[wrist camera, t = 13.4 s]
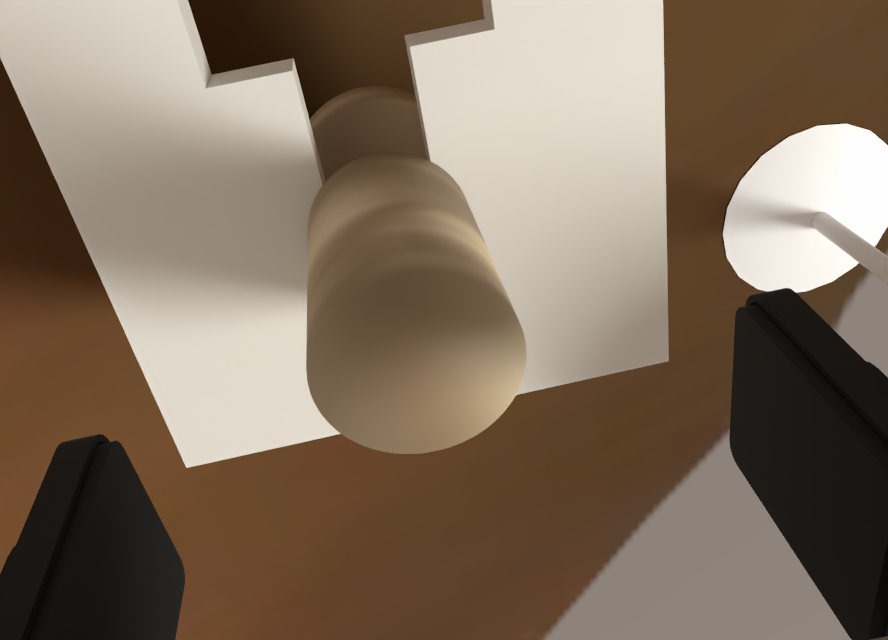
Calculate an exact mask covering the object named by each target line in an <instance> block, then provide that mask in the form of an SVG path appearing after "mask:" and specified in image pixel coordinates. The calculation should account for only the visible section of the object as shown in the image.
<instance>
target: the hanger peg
mask: <svg viewBox="0 0 888 640" xmlns="http://www.w3.org/2000/svg"><path fill="white" fill-rule="evenodd" d="M310 124H311V127H312V131H313V135H314V139H315V143H316V147H317V150H318V154H319V158H320V162H321V166H322V170H323V173H324V177H325V181H326V182H325V183H324V185H323V186H322V187H321V189H320V190H319V192H318V194H317V196H316V197H315V199H314V202H313V204H312V207H311V210H310V215H309V221H308V258H307V344H306V372H307V382H308V386H309V391H310V394H311V396H312V399H313V401H314V403H315V405H316V407H317V408H318V410H319V412H320V413H321V415H322V416H323V417H324V418H325V419H326V421H327V422H328V423H329V424H330V425H331V426H332V427H333V428H335V429H336V430H337V431H338V432H339V433H341V434H342V435H344V436H345V437H347V438H348V439H350V440H352V441H354V442H356V443H358V444H360V445H363V446H366V447H368V448H371V449H375V450H379V451H383V452H389V453H396V454H418V453H427V452H433V451H438V450H442V449H445V448H449V447H452V446H454V445H457V444H460V443H462V442H464V441H466V440H468V439H470V438H472V437H474V436H476V435H477V434H479V433H480V432H482V431H483V430H485V429H486V428H487V427H489V426H490V425H491V424H492V423H493V422H495V421H496V420H497V419H498V418H499V417H500V416H501V415H502V414H503V413H504V411H505V410H506V409H507V407H508V406H509V405H510V404H511V402H512V401H513V399H514V397H515V395H516V394H517V392H518V390H519V388H520V385H521V383H522V380H523V377H524V373H525V369H526V359H527V351H526V341H525V337H524V332H523V330H522V327H521V325H520V322H519V320H518V317H517V315H516V313H515V311H514V308H513V306H512V304H511V301H510V299H509V297H508V294H507V292H506V290H505V288H504V285H503V283H502V281H501V278H500V276H499V274H498V271H497V269H496V267H495V264H494V262H493V260H492V258H491V255H490V253H489V251H488V248H487V246H486V244H485V241H484V239H483V237H482V235H481V232H480V230H479V228H478V225H477V223H476V221H475V218H474V216H473V214H472V211H471V209H470V207H469V205H468V202H467V200H466V198H465V195H464V194H463V192H462V190H461V188H460V186H459V185H458V184H457V183H456V181H455V180H454V179H453V178H452V177H451V176H450V175H449V174H448V173H447V172H446V171H445V170H444V169H442V168H441V167H440V166H438V165H437V164H435V163H433V162H431V161H429V160H427V156H426V150H425V145H424V139H423V134H422V129H421V123H420V118H419V112H418V107H417V102H416V96H415V94H413V93H411V92H408V91H406V90H403V89H399V88H395V87H389V86H366V87H359V88H356V89H352V90H349V91H346V92H344V93H342V94H339V95H337V96H336V97H334V98H332V99H331V100H329V101H328V102H326V103H325V104H324V105H323V106H321V107H320V108H319V109H318V110H317V111H316V112H315V113H314V115H313V116H312V117H311V118H310Z"/></svg>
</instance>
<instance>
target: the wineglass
mask: <svg viewBox="0 0 888 640" xmlns="http://www.w3.org/2000/svg"><path fill="white" fill-rule="evenodd" d="M887 226H888V145H887V144H885V143H884V142H883V141H882V140H881V139H880V138H878V137H877V136H876V135H875V134H874V133H873V132H871V131H870V130H866V129H863V128H859V127H856V126H852V125H849V124H834V125H820V126H815V127H813V128H810V129H808V130H805V131H802V132H800V133H797V134H795V135H792V136H789V137H787V138H786V139H785V140H783V141H782V142H780V143H779V144H778V145H776V146H775V147H773V148H772V149H771V150H769V151H768V152H766V153H765V154H764V155H762V156H761V157H760V158H759V160H758V161H757V162H756V163H755V164H754V165H753V167H752V168H751V169H750V170H749V171H748V172H747V174H746V175H745V176H744V177H743V178H742V179H741V181H740V183H739V185H738V187H737V189H736V191H735V193H734V195H733V197H732V199H731V201H730V203H729V205H728V207H727V212H726V218H725V224H724V229H723V239H724V245H725V251H726V256H727V259H728V261H729V262H730V264H731V265H732V267H733V269H734V270H735V272H736V273H737V275H738V276H739V277H740V278H741V279H743V280H744V281H746V282H747V283H749V284H750V285H752V286H753V287H755V288H756V289H759V290H764V291H768V292H769V291H774V290H779V289H783V288H790V289H792V290H793V291H794V292H795V293H796V292H806V291H808V290H811V289H814V288H816V287H819V286H822V285H825V284H827V283H830V282H832V281H834V280H835V279H837V278H838V277H840V276H841V275H843V274H844V273H846V272H847V271H849V270H850V269H852V268H853V267H855V266H856V265H857V264H858V263H860V264H862V265H863V266H864V267H866V268H867V269H868V270H869V271H871V272H872V273H873V274H875V275H876V276H877V277H879V278H880V279H881V280H883V281H884V282H885V283H886V284H888V256H886V255H885V254H884V253H882V252H881V251H879V250H878V249H877V248H875V246H876V244H877V243H878V241H879V240H880V238H881V236H882V235H883V233H884V231H885V230H886V228H887Z"/></svg>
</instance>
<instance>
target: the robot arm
mask: <svg viewBox="0 0 888 640" xmlns="http://www.w3.org/2000/svg"><path fill="white" fill-rule="evenodd" d="M730 448H731V452H732V455H733V458H734V460H735V462H736V464H737V466H738V467H739V469H740V470H741V472H742V473H743V475H744V476H745V478H746V479H747V481H748V482H749V484H750V485H751V487H752V488H753V490H754V491H755V493H756V494H757V496H758V497H759V499H760V501H761V502H762V503H763V505H764V506H765V508H766V510H767V511H768V513H769V514H770V516H771V517H772V519H773V521H774V522H775V524H776V525H777V527H778V528H779V530H780V531H781V533H782V534H783V536H784V537H785V539H786V540H787V542H788V543H789V545H790V547H791V548H792V549H793V551H794V553H795V554H796V556H797V557H798V559H799V560H800V562H801V563H802V565H803V566H804V568H805V569H806V571H807V572H808V574H809V576H810V577H811V579H812V580H813V581H814V583H815V585H816V586H817V588H818V589H819V591H820V592H821V594H822V595H823V597H824V598H825V600H826V602H827V603H828V605H829V606H830V608H831V609H832V611H833V612H834V614H835V615H836V617H837V618H838V620H839V621H840V623H841V624H842V626H843V627H844V629H845V631H846V632H847V634H848V635H849V637H850V638H851V639H852V640H888V378H887V377H886V376H885V375H884V374H883V373H882V372H881V371H880V370H879V369H878V368H877V367H875V366H874V365H873V364H871V363H870V362H866V361H865V360H864V359H863V358H862V357H861V356H860V355H859V354H857V352H856V351H855V350H853V349H852V348H851V347H850V346H849V345H848V344H847V343H846V342H845V341H844V340H843V339H842V338H841V337H840V336H839V335H838V334H837V333H836V332H835V331H834V330H833V329H832V328H831V327H830V326H829V325H828V324H827V323H826V322H825V321H824V320H823V319H822V318H821V317H820V316H819V315H818V314H817V313H816V312H815V311H814V310H813V309H812V308H811V307H810V306H809V305H808V304H807V303H806V302H805V301H804V300H803V299H802V298H801V297H800V296H799V295H797V294H796V293H795V292H794V291H793V290H792V289H790V288H783V289H779V290H774V291H769V292H764V293H760V294H755V295H751V296H750V297H748V299H747V301H746V306H745V307H740V308H739V309H738V310H737V312H736V317H735V337H734V358H733V379H732V399H731V420H730ZM184 584H185V573H184V567H183V563H182V561H181V558H180V556H179V554H178V552H177V551H176V549H175V547H174V545H173V543H172V541H171V539H170V537H169V535H168V533H167V531H166V529H165V527H164V525H163V523H162V521H161V519H160V518H159V516H158V514H157V512H156V510H155V508H154V506H153V504H152V502H151V500H150V498H149V496H148V494H147V492H146V490H145V488H144V486H143V485H142V483H141V481H140V479H139V477H138V475H137V473H136V471H135V469H134V467H133V465H132V463H131V461H130V459H129V457H128V455H127V454H126V452H125V450H124V448H123V446H122V445H121V443H119V442H118V441H113V442H109V440H108V439H107V438H106V437H105V436H104V435H100V434H99V435H94V436H89V437H85V438H80V439H75V440H70V441H66V442H62V443H61V444H59V446H58V447H57V449H56V451H55V453H54V456H53V458H52V460H51V463H50V465H49V468H48V470H47V472H46V475H45V477H44V480H43V482H42V484H41V487H40V489H39V492H38V494H37V496H36V499H35V501H34V504H33V506H32V508H31V511H30V513H29V516H28V518H27V520H26V523H25V525H24V528H23V530H22V532H21V535H20V537H19V540H18V542H17V544H16V546H15V547H14V548H13V549H12V551H11V552H10V554H9V556H8V557H7V560H6V562H5V565H4V567H3V569H2V572H1V574H0V640H175V637H176V631H177V625H178V620H179V614H180V608H181V602H182V597H183V591H184Z"/></svg>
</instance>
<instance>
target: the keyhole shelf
mask: <svg viewBox="0 0 888 640" xmlns="http://www.w3.org/2000/svg"><path fill="white" fill-rule="evenodd" d="M482 3H483V10H484V18H485V19H483V20H478V21H473V22H468V23H463V24H458V25H453V26H448V27H443V28H438V29H434V30H429V31H424V32H419V33H414V34H409V35H404V37H405V42H406V47H407V53H408V58H409V64H410V69H411V74H412V80H413V85H414V91H415V96H416V102H417V107H418V112H419V118H420V123H421V129H422V134H423V139H424V145H425V150H426V156H427V160H429V161H431V162H433V163H435V164H437V165H438V166H440V167H441V168H442V169H444V170H445V171H446V172H447V173H448V174H449V175H450V176H451V177H452V178H453V179H454V180H455V181H456V183H457V184H458V185H459V186H460V188H461V190H462V192H463V194H464V195H465V198H466V200H467V202H468V205H469V207H470V209H471V211H472V214H473V216H474V218H475V221H476V223H477V225H478V228H479V230H480V232H481V235H482V237H483V239H484V241H485V244H486V246H487V248H488V251H489V253H490V255H491V258H492V260H493V262H494V264H495V267H496V269H497V271H498V274H499V276H500V278H501V281H502V283H503V285H504V288H505V290H506V292H507V294H508V297H509V299H510V301H511V304H512V306H513V308H514V311H515V313H516V315H517V317H518V320H519V322H520V325H521V327H522V330H523V332H524V337H525V341H526V351H527V359H526V369H525V373H524V377H523V380H522V383H521V385H520V388H519V390H518V392H517V394H516V395H518V394H522V393H527V392H531V391H536V390H540V389H545V388H549V387H554V386H558V385H563V384H567V383H572V382H577V381H581V380H586V379H590V378H595V377H599V376H604V375H608V374H613V373H617V372H622V371H626V370H631V369H635V368H640V367H644V366H649V365H653V364H658V363H662V362H667V361H669V350H668V287H667V224H666V160H665V97H664V34H663V0H482ZM0 58H1V61H2V63H3V65H4V67H5V69H6V72H7V74H8V76H9V78H10V80H11V83H12V85H13V87H14V89H15V91H16V94H17V96H18V98H19V100H20V102H21V105H22V107H23V109H24V111H25V113H26V116H27V118H28V120H29V122H30V124H31V127H32V129H33V131H34V133H35V135H36V138H37V140H38V142H39V144H40V146H41V149H42V151H43V153H44V155H45V157H46V160H47V162H48V164H49V166H50V168H51V171H52V173H53V175H54V177H55V179H56V182H57V184H58V186H59V188H60V190H61V193H62V195H63V197H64V199H65V201H66V204H67V206H68V208H69V210H70V212H71V215H72V217H73V219H74V221H75V223H76V226H77V228H78V230H79V232H80V234H81V237H82V239H83V241H84V243H85V246H86V248H87V250H88V252H89V254H90V257H91V259H92V261H93V263H94V265H95V268H96V270H97V272H98V274H99V276H100V279H101V281H102V283H103V285H104V287H105V290H106V292H107V294H108V296H109V298H110V301H111V303H112V305H113V307H114V309H115V312H116V314H117V316H118V318H119V320H120V323H121V325H122V327H123V329H124V331H125V334H126V336H127V338H128V340H129V342H130V345H131V347H132V349H133V351H134V353H135V356H136V358H137V360H138V362H139V364H140V367H141V369H142V371H143V373H144V375H145V378H146V380H147V382H148V384H149V386H150V389H151V391H152V393H153V395H154V397H155V400H156V402H157V404H158V406H159V408H160V411H161V413H162V415H163V417H164V419H165V422H166V424H167V426H168V428H169V430H170V433H171V435H172V437H173V439H174V441H175V444H176V446H177V448H178V450H179V452H180V455H181V457H182V459H183V461H184V463H185V466H186V468H188V467H193V466H197V465H202V464H206V463H211V462H215V461H220V460H224V459H229V458H233V457H238V456H243V455H247V454H252V453H256V452H261V451H265V450H270V449H274V448H279V447H283V446H288V445H292V444H297V443H301V442H306V441H310V440H315V439H319V438H324V437H328V436H333V435H337V434H341V433H339V432H338V431H337V430H336V429H335V428H333V427H332V426H331V425H330V424H329V423H328V422H327V421H326V419H325V418H324V417H323V416H322V415H321V413H320V412H319V410H318V408H317V407H316V405H315V403H314V401H313V399H312V396H311V394H310V391H309V386H308V382H307V372H306V344H307V258H308V221H309V215H310V210H311V207H312V204H313V202H314V199H315V197H316V196H317V194H318V192H319V190H320V189H321V187H322V186H323V185H324V183H325V182H326V181H325V177H324V173H323V170H322V166H321V162H320V158H319V154H318V150H317V147H316V143H315V139H314V135H313V131H312V127H311V124H310V120H309V116H308V112H307V108H306V104H305V101H304V97H303V93H302V89H301V85H300V81H299V78H298V74H297V70H296V66H295V62H294V58H292V59H287V60H282V61H277V62H272V63H267V64H262V65H257V66H252V67H247V68H243V69H238V70H233V71H228V72H223V73H218V74H213V75H212V74H211V71H210V68H209V65H208V62H207V58H206V55H205V52H204V49H203V46H202V43H201V40H200V36H199V33H198V30H197V27H196V24H195V21H194V18H193V14H192V11H191V8H190V5H189V2H188V0H0Z"/></svg>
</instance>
